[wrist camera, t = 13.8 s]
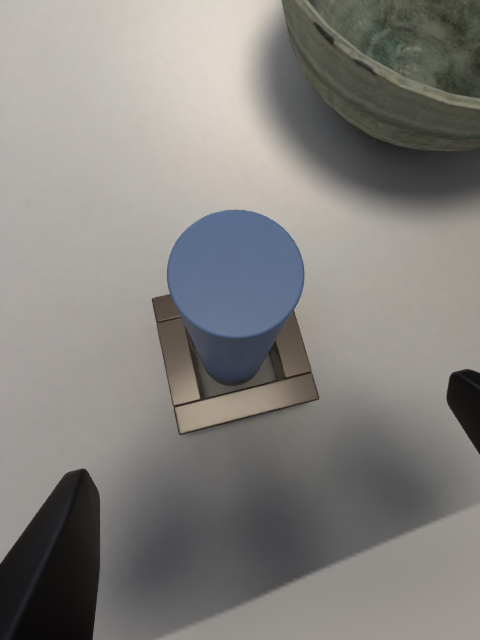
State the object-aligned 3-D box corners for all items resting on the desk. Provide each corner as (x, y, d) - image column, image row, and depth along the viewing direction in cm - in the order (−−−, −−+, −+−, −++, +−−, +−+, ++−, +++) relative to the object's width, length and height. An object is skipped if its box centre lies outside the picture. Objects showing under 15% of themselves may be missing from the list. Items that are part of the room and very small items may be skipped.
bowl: (527, -11, 30) (667, -213, 21) (563, 231, 25) (772, 115, 15) (263, -33, 30) (279, -247, 20) (244, 206, 25) (254, 73, 15)
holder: (308, 401, 22) (320, 399, 19) (185, 433, 21) (178, 435, 19) (275, 286, 24) (281, 268, 21) (160, 313, 23) (151, 297, 20)
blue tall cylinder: (253, 392, 22) (288, 354, 9) (196, 377, 22) (148, 319, 9) (267, 335, 23) (316, 225, 10) (211, 321, 23) (188, 195, 10)
